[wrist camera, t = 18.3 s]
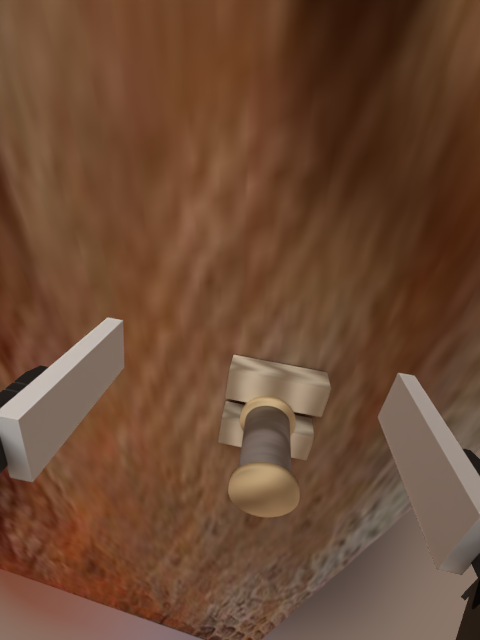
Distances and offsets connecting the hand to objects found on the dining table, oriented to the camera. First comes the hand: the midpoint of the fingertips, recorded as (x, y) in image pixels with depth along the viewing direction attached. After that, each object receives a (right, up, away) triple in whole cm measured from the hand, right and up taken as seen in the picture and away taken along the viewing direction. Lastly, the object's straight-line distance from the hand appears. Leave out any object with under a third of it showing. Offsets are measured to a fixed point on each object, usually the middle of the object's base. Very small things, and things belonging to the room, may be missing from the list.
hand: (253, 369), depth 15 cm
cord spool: (+3, -12, +31) cm, 33 cm away
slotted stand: (+4, -10, +34) cm, 36 cm away
